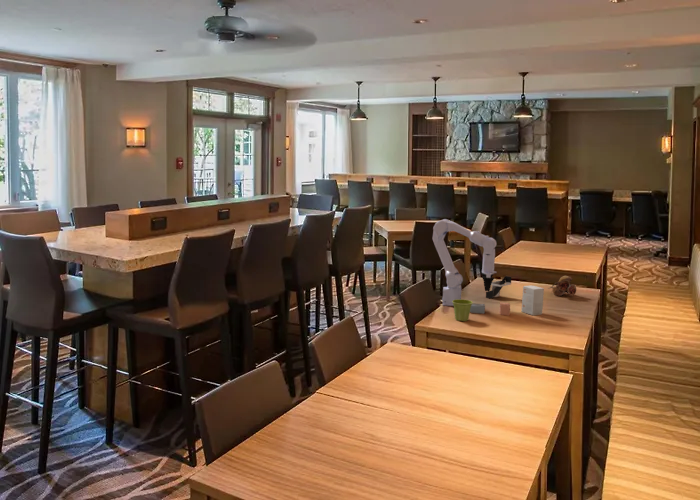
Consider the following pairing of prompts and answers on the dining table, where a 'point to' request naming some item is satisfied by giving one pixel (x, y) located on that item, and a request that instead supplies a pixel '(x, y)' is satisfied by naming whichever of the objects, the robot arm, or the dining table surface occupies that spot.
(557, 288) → the seed pod
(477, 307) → the slotted gray housing
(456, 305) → the plant pot
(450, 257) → the robot arm
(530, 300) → the small box
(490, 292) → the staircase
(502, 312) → the stub
